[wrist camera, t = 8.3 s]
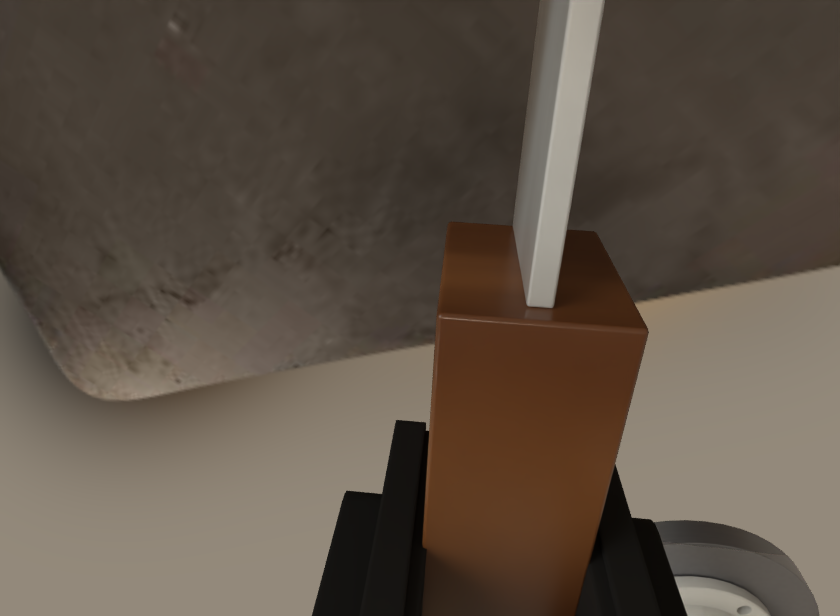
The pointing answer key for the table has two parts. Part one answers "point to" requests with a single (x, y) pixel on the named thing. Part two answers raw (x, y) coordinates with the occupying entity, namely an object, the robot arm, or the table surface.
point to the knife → (529, 368)
